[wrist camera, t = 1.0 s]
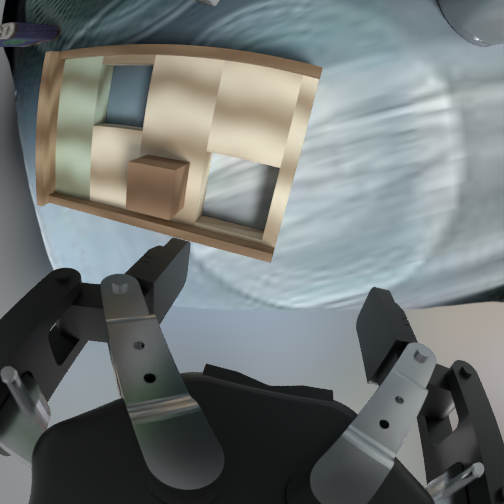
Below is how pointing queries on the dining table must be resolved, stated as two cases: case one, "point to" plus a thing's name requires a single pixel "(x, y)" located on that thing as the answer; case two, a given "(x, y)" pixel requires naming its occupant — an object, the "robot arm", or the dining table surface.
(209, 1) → the coffee box
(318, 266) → the dining table surface
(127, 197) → the walnut block
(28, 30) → the flask
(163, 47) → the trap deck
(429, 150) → the dining table surface
